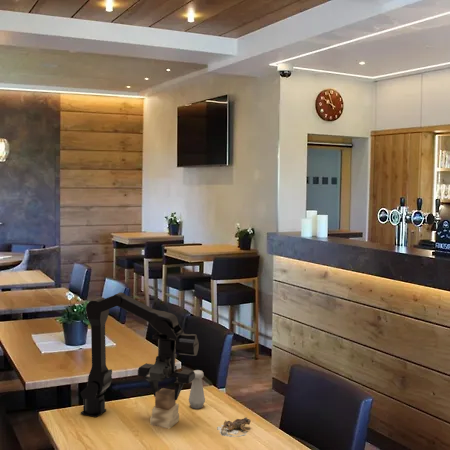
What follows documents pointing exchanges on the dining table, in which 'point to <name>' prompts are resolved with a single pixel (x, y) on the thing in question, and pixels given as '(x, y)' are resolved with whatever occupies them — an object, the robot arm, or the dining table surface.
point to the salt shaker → (197, 391)
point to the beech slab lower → (164, 422)
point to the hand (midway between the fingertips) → (165, 398)
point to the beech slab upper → (165, 413)
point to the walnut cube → (165, 399)
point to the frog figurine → (234, 427)
